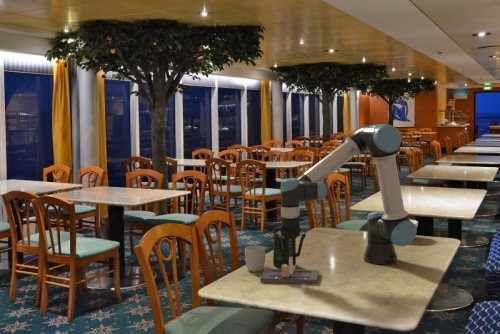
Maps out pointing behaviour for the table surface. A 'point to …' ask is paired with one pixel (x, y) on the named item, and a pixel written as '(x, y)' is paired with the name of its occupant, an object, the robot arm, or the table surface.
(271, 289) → the table surface
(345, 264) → the table surface
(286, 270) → the fader near
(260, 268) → the mug
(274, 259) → the coffee jar
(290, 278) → the board
